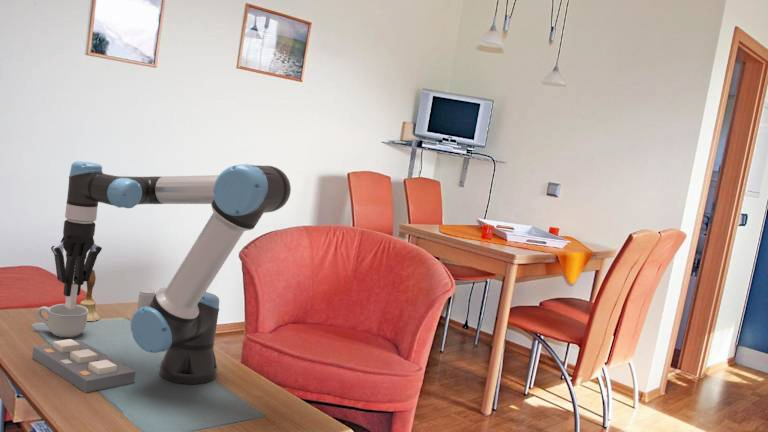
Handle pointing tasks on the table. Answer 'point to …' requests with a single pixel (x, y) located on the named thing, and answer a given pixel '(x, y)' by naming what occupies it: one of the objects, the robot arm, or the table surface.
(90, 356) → the button middle
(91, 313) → the hand bell
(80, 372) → the key board
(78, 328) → the teacup
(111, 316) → the table surface
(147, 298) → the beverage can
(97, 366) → the button
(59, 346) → the button
